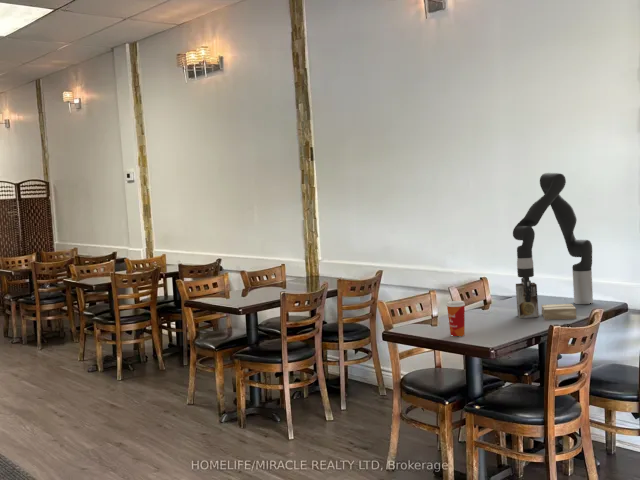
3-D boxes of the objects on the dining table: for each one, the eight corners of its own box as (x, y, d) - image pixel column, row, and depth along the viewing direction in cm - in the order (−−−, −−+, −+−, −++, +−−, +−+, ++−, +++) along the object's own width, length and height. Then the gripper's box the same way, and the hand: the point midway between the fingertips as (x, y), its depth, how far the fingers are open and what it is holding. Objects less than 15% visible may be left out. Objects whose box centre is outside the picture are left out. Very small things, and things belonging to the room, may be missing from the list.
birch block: (542, 314, 327) (541, 304, 326) (572, 313, 323) (571, 303, 323) (545, 320, 314) (544, 309, 314) (576, 319, 311) (575, 308, 310)
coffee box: (536, 314, 326) (534, 282, 324) (539, 317, 319) (537, 284, 318) (517, 315, 327) (515, 283, 325) (519, 318, 320) (517, 285, 319)
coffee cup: (445, 334, 298) (443, 301, 297) (463, 332, 298) (461, 299, 297) (451, 338, 289) (449, 304, 288) (469, 336, 290) (467, 302, 289)
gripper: (535, 268, 313) (537, 303, 315) (530, 264, 328) (532, 298, 329) (519, 269, 315) (521, 303, 316) (515, 265, 329) (517, 298, 330)
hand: (527, 300), depth 322 cm, fingers closed on coffee box, 6 cm apart
